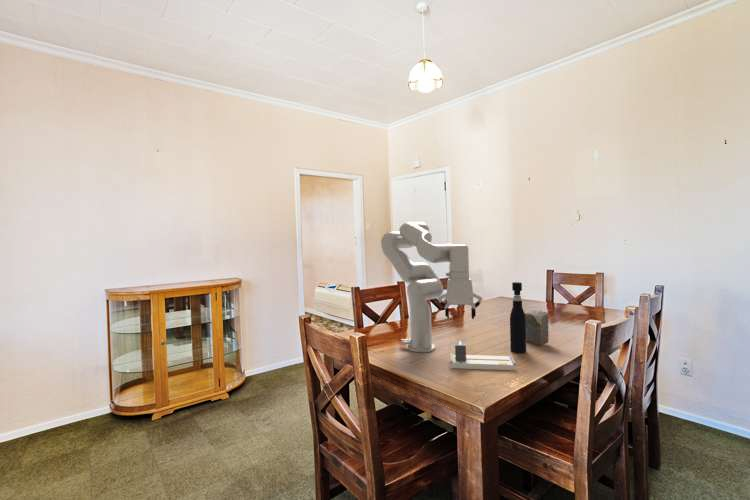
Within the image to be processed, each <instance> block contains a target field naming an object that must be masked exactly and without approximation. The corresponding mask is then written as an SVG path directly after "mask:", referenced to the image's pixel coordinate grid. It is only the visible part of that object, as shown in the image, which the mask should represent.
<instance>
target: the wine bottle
mask: <svg viewBox="0 0 750 500" xmlns="http://www.w3.org/2000/svg"><path fill="white" fill-rule="evenodd" d="M522 284H523V283H522V282H518V281H517V282H512V283H511V285H512V286H511V287H512V291H513V297H512V299H513V300H512V308H511V311H510V314H509V337H510V339H509V341H510V352H511V353H513V354H517V355H518V354H520V355H522V354H526V353H527V340H526V319H525V314H524V312H525V311H524V309H523V300H522V296H521V292H522V290H523V285H522Z"/></svg>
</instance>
